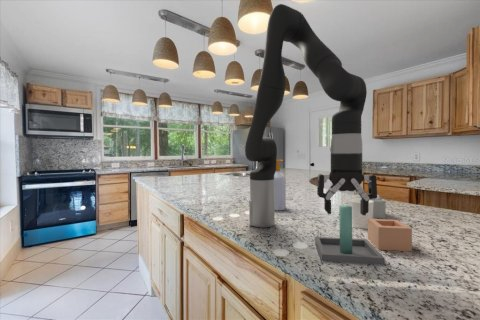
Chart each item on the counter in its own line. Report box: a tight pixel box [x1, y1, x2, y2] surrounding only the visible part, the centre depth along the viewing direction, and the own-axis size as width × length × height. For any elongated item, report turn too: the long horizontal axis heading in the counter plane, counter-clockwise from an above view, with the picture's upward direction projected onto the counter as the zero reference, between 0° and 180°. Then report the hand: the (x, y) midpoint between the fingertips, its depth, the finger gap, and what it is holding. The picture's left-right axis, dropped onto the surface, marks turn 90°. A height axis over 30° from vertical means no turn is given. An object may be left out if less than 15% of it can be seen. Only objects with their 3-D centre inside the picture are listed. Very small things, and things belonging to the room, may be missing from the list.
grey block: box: [354, 194, 386, 219], centre depth 101 cm, size 10×13×9 cm
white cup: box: [348, 197, 374, 230], centre depth 83 cm, size 8×8×10 cm
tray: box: [314, 236, 386, 266], centre depth 62 cm, size 14×12×2 cm
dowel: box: [338, 204, 353, 254], centre depth 61 cm, size 3×3×12 cm
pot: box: [367, 218, 413, 252], centre depth 66 cm, size 8×8×7 cm
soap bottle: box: [274, 159, 287, 212], centre depth 113 cm, size 9×9×24 cm
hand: (345, 213), depth 61 cm, fingers open, 8 cm apart
